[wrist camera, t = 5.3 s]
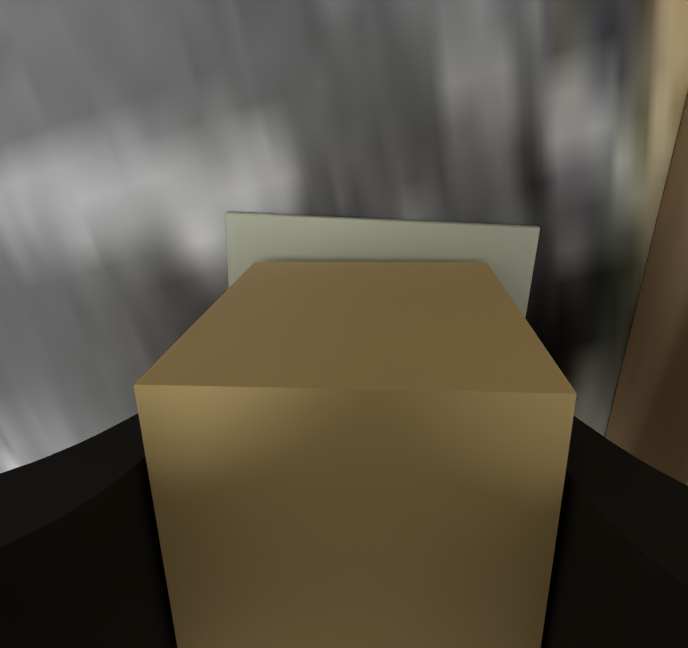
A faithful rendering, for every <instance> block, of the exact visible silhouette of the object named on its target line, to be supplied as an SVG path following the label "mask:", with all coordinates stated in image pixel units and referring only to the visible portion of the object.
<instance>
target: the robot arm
mask: <svg viewBox="0 0 688 648" xmlns="http://www.w3.org/2000/svg"><path fill="white" fill-rule="evenodd" d="M0 648H177V642H176V636H175V630H174V624H173V618H172V612H171V606H170V600H169V594H168V588H167V582H166V576H165V570H164V564H163V558H162V552H161V546H160V540H159V534H158V528H157V522H156V516H155V510H154V504H153V498H152V492H151V486H150V480H149V474H148V468H147V462H146V456H145V450H144V444H143V438H142V432H141V426H140V420H139V414H136V415H134V416H132V417H130V418H129V419H127V420H125V421H123V422H121V423H119V424H117V425H115V426H113V427H111V428H110V429H108V430H106V431H104V432H102V433H100V434H98V435H96V436H94V437H92V438H90V439H87V440H85V441H83V442H81V443H79V444H76V445H74V446H72V447H69V448H67V449H65V450H62V451H60V452H58V453H55V454H53V455H50V456H48V457H46V458H43V459H40V460H38V461H35V462H33V463H30V464H27V465H24V466H21V467H18V468H15V469H12V470H10V471H7V472H4V473H1V474H0ZM541 648H688V486H687V485H685V484H683V483H682V482H680V481H678V480H676V479H674V478H672V477H670V476H668V475H666V474H665V473H663V472H661V471H659V470H657V469H655V468H654V467H652V466H650V465H648V464H647V463H645V462H643V461H641V460H640V459H638V458H636V457H635V456H633V455H632V454H630V453H628V452H627V451H625V450H624V449H622V448H621V447H619V446H617V445H616V444H614V443H613V442H611V441H609V440H608V439H607V438H605V437H604V436H602V435H601V434H599V433H598V432H596V431H595V430H593V429H592V428H590V427H589V426H588V425H586V424H585V423H583V422H582V421H581V420H579V419H578V418H576V417H575V416H574V417H573V424H572V431H571V438H570V445H569V452H568V459H567V466H566V473H565V480H564V487H563V494H562V501H561V508H560V515H559V522H558V529H557V536H556V543H555V550H554V557H553V564H552V571H551V578H550V585H549V592H548V599H547V606H546V613H545V621H544V628H543V635H542V642H541Z"/></svg>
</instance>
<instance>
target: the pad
mask: <svg viewBox="0 0 688 648" xmlns="http://www.w3.org/2000/svg"><path fill="white" fill-rule="evenodd" d="M225 223H226V243H227V263H228V283H229V287H230V286H231V285H232V284H233V283H234V282H235V281H236V280H237V279H238V278H239V277H240V276H241V275H242V274H243V273H244V272H245V271H246V270H247V269H248V268H249V267H250V266H251V265H252V264H253V263H254V262H487V263H488V265H489V266H490V268H491V269H492V271H493V272H494V273H495V275H496V276H497V278H498V279H499V281H500V282H501V284H502V285H503V287H504V288H505V290H506V291H507V292H508V294H509V295H510V297H511V298H512V300H513V301H514V303H515V304H516V306H517V307H518V309H519V310H520V311H521V313H522V314H523V316H524V317H525V318H526V312H527V305H528V299H529V293H530V287H531V281H532V275H533V269H534V263H535V256H536V250H537V244H538V238H539V232H540V227H539V226H530V225H508V224H486V223H464V222H442V221H420V220H399V219H377V218H355V217H333V216H311V215H290V214H268V213H246V212H226V213H225Z"/></svg>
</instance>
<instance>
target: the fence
mask: <svg viewBox="0 0 688 648" xmlns="http://www.w3.org/2000/svg"><path fill="white" fill-rule="evenodd" d="M605 438H607V439H608V440H609V441H611V442H613V443H614V444H616V445H617V446H619V447H621V448H622V449H624V450H625V451H627V452H628V453H630V454H632V455H633V456H635V457H636V458H638V459H640V460H641V461H643V462H645V463H647V464H648V465H650V466H652V467H654V468H655V469H657V470H659V471H661V472H663V473H665V474H666V475H668V476H670V477H672V478H674V479H676V480H678V481H680V482H682V483H683V484H685V485H687V486H688V95H687V99H686V104H685V108H684V112H683V116H682V120H681V124H680V128H679V133H678V137H677V141H676V145H675V149H674V153H673V157H672V162H671V166H670V170H669V174H668V178H667V182H666V186H665V191H664V195H663V199H662V203H661V207H660V211H659V215H658V220H657V224H656V228H655V232H654V236H653V240H652V244H651V249H650V253H649V257H648V261H647V265H646V269H645V273H644V278H643V282H642V286H641V290H640V294H639V298H638V302H637V307H636V311H635V315H634V319H633V323H632V327H631V331H630V336H629V340H628V344H627V348H626V352H625V356H624V360H623V365H622V369H621V373H620V377H619V381H618V385H617V389H616V394H615V398H614V402H613V406H612V410H611V414H610V418H609V423H608V427H607V431H606V435H605Z"/></svg>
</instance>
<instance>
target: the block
mask: <svg viewBox="0 0 688 648" xmlns="http://www.w3.org/2000/svg"><path fill="white" fill-rule="evenodd" d="M134 390H135V396H136V402H137V408H138V414H139V420H140V426H141V432H142V438H143V444H144V450H145V456H146V462H147V468H148V474H149V480H150V486H151V492H152V498H153V504H154V510H155V516H156V522H157V528H158V534H159V540H160V546H161V552H162V558H163V564H164V570H165V576H166V582H167V588H168V594H169V600H170V606H171V612H172V618H173V624H174V630H175V636H176V642H177V648H541V642H542V635H543V628H544V621H545V613H546V606H547V599H548V592H549V585H550V578H551V571H552V564H553V557H554V550H555V543H556V536H557V529H558V522H559V515H560V508H561V501H562V494H563V487H564V480H565V473H566V466H567V459H568V452H569V445H570V438H571V431H572V424H573V417H574V410H575V403H576V396H577V393H576V392H575V390H574V389H573V387H572V386H571V385H570V383H569V382H568V380H567V379H566V377H565V376H564V374H563V373H562V371H561V370H560V368H559V367H558V366H557V364H556V363H555V361H554V360H553V358H552V357H551V355H550V354H549V352H548V351H547V349H546V348H545V347H544V345H543V344H542V342H541V341H540V339H539V338H538V336H537V335H536V333H535V332H534V330H533V329H532V328H531V326H530V325H529V323H528V322H527V320H526V319H525V317H524V316H523V314H522V313H521V311H520V310H519V309H518V307H517V306H516V304H515V303H514V301H513V300H512V298H511V297H510V295H509V294H508V292H507V291H506V290H505V288H504V287H503V285H502V284H501V282H500V281H499V279H498V278H497V276H496V275H495V273H494V272H493V271H492V269H491V268H490V266H489V265H488V263H487V262H254V263H253V264H252V265H251V266H250V267H249V268H248V269H247V270H246V271H245V272H244V273H243V274H242V275H241V276H240V277H239V278H238V279H237V280H236V281H235V282H234V283H233V284H232V285H231V286H230V287H229V288H228V289H227V290H226V291H225V292H224V294H223V295H222V296H221V297H220V298H219V299H218V300H217V301H216V302H215V303H214V304H213V305H212V306H211V307H210V308H209V309H208V310H207V311H206V312H205V313H204V314H203V315H202V316H201V317H200V318H199V319H198V320H197V321H196V322H195V323H194V324H193V325H192V326H191V327H190V328H189V329H188V330H187V331H186V332H185V333H184V334H183V335H182V336H181V337H180V338H179V339H178V340H177V341H176V342H175V343H174V344H173V345H172V346H171V347H170V348H169V349H168V350H167V351H166V352H165V353H164V354H163V355H162V356H161V357H160V358H159V359H158V360H157V361H156V362H155V363H154V364H153V365H152V366H151V367H150V368H149V369H148V370H147V371H146V372H145V373H144V375H143V376H142V377H141V378H140V379H139V380H138V381H137V382H136V383H135V384H134Z"/></svg>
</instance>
